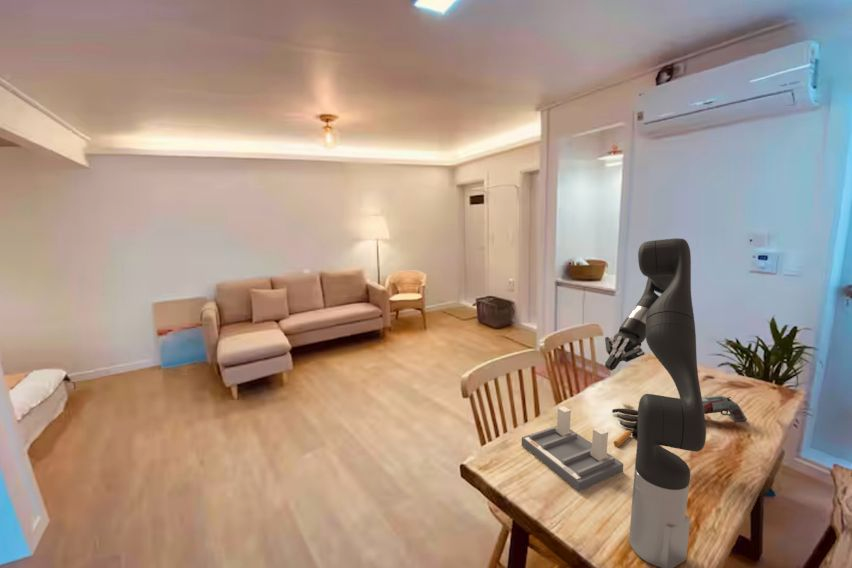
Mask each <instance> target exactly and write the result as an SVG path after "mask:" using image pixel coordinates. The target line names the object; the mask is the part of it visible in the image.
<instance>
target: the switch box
mask: <svg viewBox="0 0 852 568" xmlns="http://www.w3.org/2000/svg"><path fill="white" fill-rule="evenodd" d="M556 428H557V425H555V426H551V427H549V428H545V429H542V430H540V431H537V432H534V433H531V434H528V435H524V436H522V437H521V446H522V447H523V448H525V449H526V450H527V451H529V452H530V453H531V454H532V455H533V456H535V458H537V459H538V460H540V461H541V462H542V463H543V464H544V465H546V466H547V467H548V468H549V469H550V470H552V471H553V472H554V473H555V474H557V475H558V476H559V477H561V479H563V480H564V481H565V482H566V483H568V484H569V485H570V486H572V488H573V489H575V491H578V492H580V491H581V492H582V491H583V490H585V489H587V488H590V487H592V486H594V485H596V484H599V483H601V482H604V481H605V480H609V479H610V478H612V477H615V476H617V475H620V474H621V473H624V462H621V461H620V460H618V459H617V458H616V457H614V456H612V455H611V454H609V453H608V452H607V456H608V458H607V459H605V460H602V461H598V460H597V459H595V458H594V457H592V456H591V455H590V452H591V451H592V441H589V440H588V439H586V438H585V437H584V436H581V435H580V434H578V433H577V432H575V431H574V430H572V429H571V428H570V432H571V434H569V435H566V436H562V435H560V434H559V433H557V432H556Z"/></svg>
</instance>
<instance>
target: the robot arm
mask: <svg viewBox="0 0 852 568" xmlns="http://www.w3.org/2000/svg"><path fill="white" fill-rule="evenodd" d="M637 259H638V260H637V261H638V266H639V267H638V268H639V270H640V273H641V274H642V275H643V276H645V277H646V278H647V280H646V281H647V282H646V285H645V289H644V291H643V294H642V296H641V298H640V299H639V300H638V302H637V303H636V304H635V306H634V308H633V309H631V311H630V312H629V313H628V315H627V317H626V318H625V319H624V321H623V323H622V324H621V326H620V327H619V330H618V332H617V333H615V334H614V336H612V337H609V336H605V337H604V342H605V350H606V353H607V354H608V355H609V357H608V358H607V360H606V361H605V364H604V366H605V368H606V369H607V370H609V371H611V372H612V371H614V370H615V369H616V368H617V366H619V363H620V362H625V363H628V362H631V361H632V360H635V359H637V358H639V357H643V356H644V355H645V352H644V350H643V349H642V348H641V346H642V343H643V342H644V341H645V340H646V344H647V346H648V348H649V350H650V351H651V353H652V354H653V355H654V356H655V358H656V359H657V360H658V362H659V363H660V364H661V365H662V366H663V368H664V369H665V370H666V371H667V374H669V375H670V378H671V379H672V381H673V383H674V385H675V386H676V389H677V392H678V395H679V398H680V399H679V398H678V397H672V396H671V397H670V396H664V395H659V394H653V393H652V394H651V393H644V394H643V395H642V396H641V397H640V399H639V402H638V409H637V411H638V416H637V418H638V437H637V443H636V453H635V463H634V476H633V488H632V499H631V510H630V511H631V512H630V525H629V526H630V527H629V534H628V535H629V536H628V540H629V541H628V542H629V546H630V547H631V549H632V550H633V552H635V554H636V555H637V556H638V557H639V558H641V559H642V560H644V562H646V563H648V564H650V565H653V566H655V567H658V568H677V566H679V565H680V564H682V563H684V562H685V561H687V553H688V546H689V545H688V544H689V536H690V535H689V534H690V527H691V518H690V517H689V516H687V507H688V498H689V492H690V491H689V489H690V480H691V470H690V467H689V465H688V464H687V462H685V460H684V459H683V458H681V457H680V456H679V455H678V454H675V453H674V452H673V451H670V450H668V449H666V448H664V447H668V448H674V449H678V450H682V451H689V452H696V453H697V452H700V451H702V450H703V449H704V446H705V444H706V439H707V438H706V437H707V425H706V424H707V423H706V417H705V415H706V414H704V409H703V403H702V397H703V396H702V393H701V392H702V391H701V386H700V380H699V378H700V377H699V373H698V372H699V371H698V362H697V358H698V357H697V335H696V334H697V333H696V324H695V323H696V322H695V314H694V307H693V299H692V286H691V285H692V277H691V276H692V266H691V265H692V262H691V261H692V257H691V248H690V245H689V243H688V241H687V240H686V239H685V238H679V237H678V238H665V239H655V240H654V239H653V240H648V241H644V242H643V243H641V245H640V246H639V248H638V253H637ZM656 292H657V293H659V294H660V295H659V294H657V293H656ZM663 446H664V447H663Z"/></svg>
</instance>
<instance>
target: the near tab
mask: <svg viewBox="0 0 852 568" xmlns="http://www.w3.org/2000/svg"><path fill="white" fill-rule="evenodd" d="M608 438H609V432H608V431H607V430H605V429H603V428H602V427H600V426H598V427H595V428H593V429H592V440H591V443H592V451H591V452H590V455H591V456H592V457H594V458H595V459H597V460H598V461H602V460H605V459H607V458H608V456H607V453H608V440H609V439H608Z"/></svg>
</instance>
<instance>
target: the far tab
mask: <svg viewBox="0 0 852 568" xmlns="http://www.w3.org/2000/svg"><path fill="white" fill-rule="evenodd" d="M571 414H572V409H569V408H567V407H566V406H564V405H563V406H560V407H557V414H556V415H557V418H556V419H557V420H556V421H557V422H556V426H557V428H556V432H557V433H559V434H560V435H562V436H566V435H569V434H571V432H570V429H571Z"/></svg>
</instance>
